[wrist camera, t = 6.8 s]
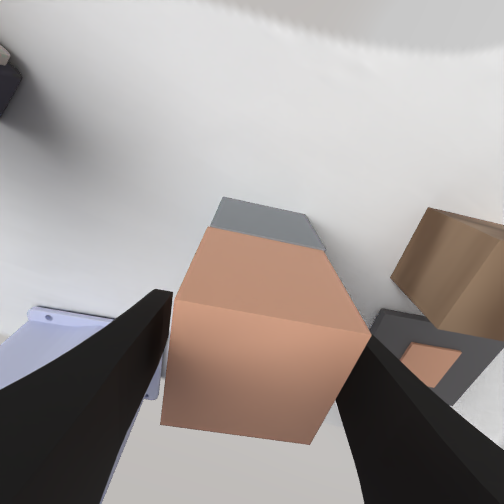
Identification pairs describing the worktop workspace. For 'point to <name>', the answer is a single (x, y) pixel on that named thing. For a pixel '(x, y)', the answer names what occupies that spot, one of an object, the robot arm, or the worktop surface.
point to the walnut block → (456, 273)
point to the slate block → (266, 223)
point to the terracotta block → (259, 339)
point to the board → (435, 352)
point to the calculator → (7, 79)
